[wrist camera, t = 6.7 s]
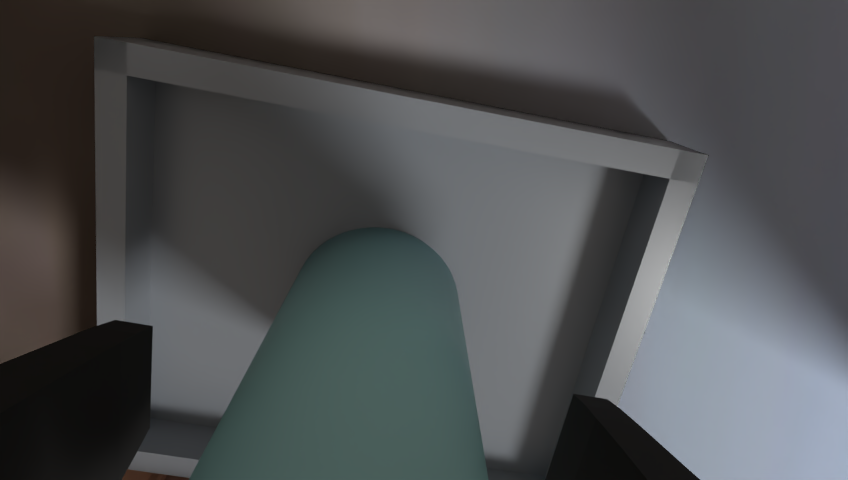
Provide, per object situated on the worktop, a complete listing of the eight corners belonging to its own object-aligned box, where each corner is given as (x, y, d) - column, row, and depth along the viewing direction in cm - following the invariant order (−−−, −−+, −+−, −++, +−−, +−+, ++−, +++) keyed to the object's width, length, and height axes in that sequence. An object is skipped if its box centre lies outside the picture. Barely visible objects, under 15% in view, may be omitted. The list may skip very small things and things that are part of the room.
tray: (669, 141, 13) (708, 155, 11) (555, 480, 16) (571, 532, 14) (141, 37, 12) (94, 36, 10) (134, 417, 15) (98, 465, 13)
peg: (476, 247, 13) (563, 533, 5) (436, 389, 14) (460, 784, 6) (307, 210, 12) (136, 459, 5) (282, 359, 14) (116, 741, 6)
